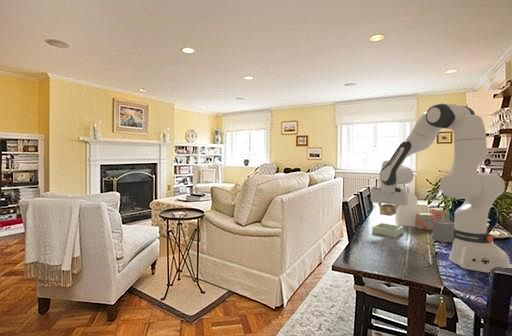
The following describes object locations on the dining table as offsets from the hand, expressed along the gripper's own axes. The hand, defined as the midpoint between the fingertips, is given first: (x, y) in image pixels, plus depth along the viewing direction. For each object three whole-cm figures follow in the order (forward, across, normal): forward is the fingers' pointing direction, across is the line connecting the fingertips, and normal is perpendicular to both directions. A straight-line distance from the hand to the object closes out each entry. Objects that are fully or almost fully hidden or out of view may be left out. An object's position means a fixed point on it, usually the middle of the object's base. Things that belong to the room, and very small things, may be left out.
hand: (388, 211), depth 165 cm
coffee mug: (+13, +28, +9) cm, 32 cm away
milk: (+14, +1, +32) cm, 35 cm away
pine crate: (+2, 0, 0) cm, 2 cm away
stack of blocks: (+14, +17, +33) cm, 39 cm away
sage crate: (+13, 0, 0) cm, 13 cm away
